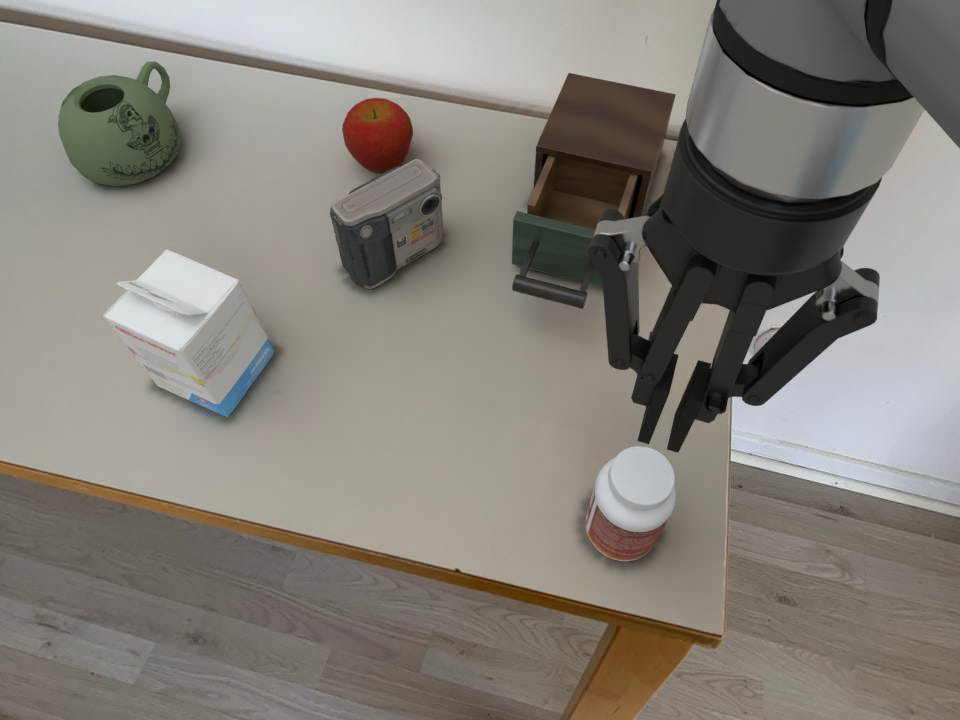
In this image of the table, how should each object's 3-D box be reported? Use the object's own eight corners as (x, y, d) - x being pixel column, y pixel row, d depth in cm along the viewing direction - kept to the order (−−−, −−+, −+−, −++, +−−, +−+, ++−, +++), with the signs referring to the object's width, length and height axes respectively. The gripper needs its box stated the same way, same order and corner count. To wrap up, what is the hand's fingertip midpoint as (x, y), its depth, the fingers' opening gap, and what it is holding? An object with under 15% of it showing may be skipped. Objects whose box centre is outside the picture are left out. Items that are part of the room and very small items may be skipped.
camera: (363, 297, 76) (347, 231, 68) (336, 263, 79) (317, 195, 70) (453, 247, 80) (449, 178, 71) (424, 216, 82) (416, 146, 74)
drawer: (597, 338, 72) (606, 295, 66) (492, 310, 74) (492, 266, 68) (637, 211, 81) (648, 164, 75) (542, 189, 83) (546, 142, 77)
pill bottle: (667, 554, 61) (699, 506, 52) (596, 570, 60) (615, 523, 51) (643, 486, 64) (669, 429, 55) (575, 500, 64) (590, 445, 54)
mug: (140, 207, 83) (107, 148, 76) (53, 175, 87) (13, 115, 79) (223, 122, 91) (200, 61, 84) (141, 95, 94) (111, 33, 87)
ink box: (277, 352, 73) (238, 265, 61) (226, 420, 69) (174, 340, 57) (208, 322, 75) (156, 232, 63) (154, 386, 71) (89, 302, 59)
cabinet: (637, 230, 80) (651, 171, 73) (532, 205, 83) (536, 145, 76) (660, 155, 87) (675, 94, 80) (562, 133, 89) (568, 72, 82)
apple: (421, 178, 85) (415, 124, 79) (354, 190, 84) (342, 136, 78) (409, 134, 89) (402, 79, 83) (345, 145, 89) (333, 90, 82)
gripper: (987, 112, 28) (781, 411, 48) (620, 43, 30) (570, 353, 50) (993, 256, 24) (767, 515, 44) (572, 162, 27) (539, 447, 46)
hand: (662, 428), depth 47 cm, fingers closed
